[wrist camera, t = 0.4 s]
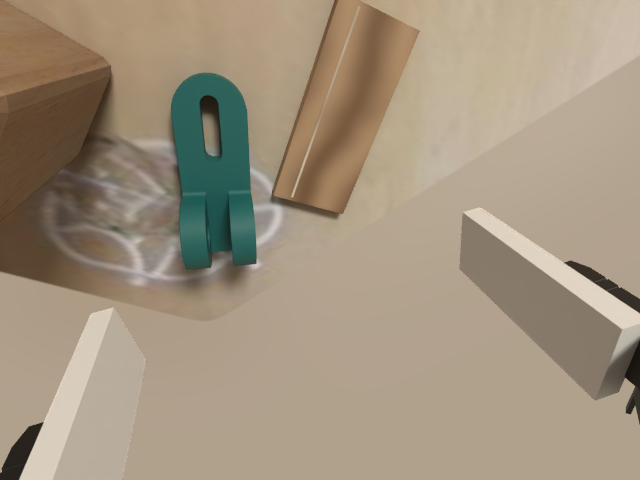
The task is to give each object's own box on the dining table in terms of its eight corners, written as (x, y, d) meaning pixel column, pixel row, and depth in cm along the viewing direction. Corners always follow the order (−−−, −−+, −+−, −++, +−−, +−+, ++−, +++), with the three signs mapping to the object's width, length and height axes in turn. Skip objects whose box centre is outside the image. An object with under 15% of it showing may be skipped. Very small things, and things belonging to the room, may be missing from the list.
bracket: (251, 239, 44) (257, 276, 37) (192, 243, 42) (186, 282, 36) (244, 73, 35) (249, 82, 28) (168, 71, 34) (155, 80, 27)
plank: (272, 191, 41) (273, 195, 40) (337, -8, 34) (341, -9, 32) (339, 209, 44) (342, 214, 43) (414, 31, 37) (419, 30, 36)
